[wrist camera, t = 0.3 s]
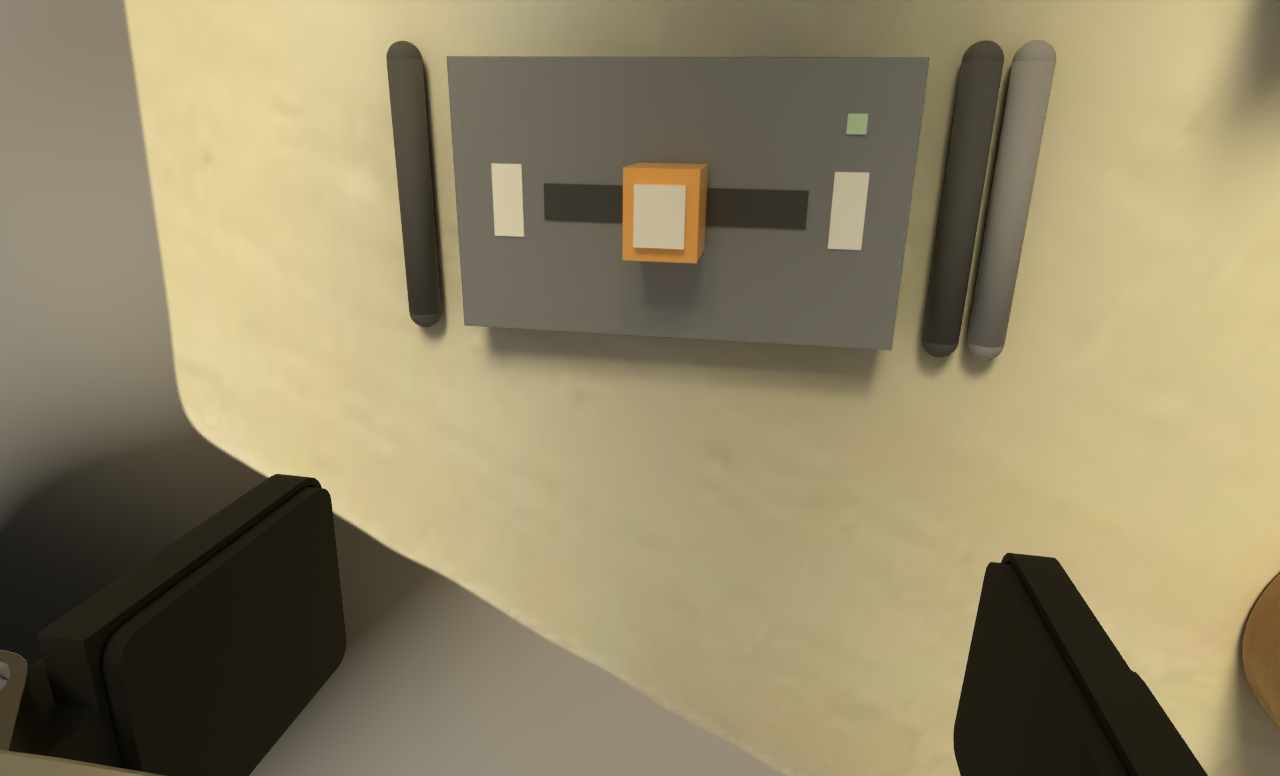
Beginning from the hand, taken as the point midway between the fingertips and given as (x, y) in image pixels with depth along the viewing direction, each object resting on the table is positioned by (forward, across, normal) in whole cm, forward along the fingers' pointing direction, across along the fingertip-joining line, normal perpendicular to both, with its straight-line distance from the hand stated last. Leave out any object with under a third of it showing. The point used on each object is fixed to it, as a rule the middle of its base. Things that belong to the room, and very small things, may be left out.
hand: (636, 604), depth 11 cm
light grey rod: (+28, -12, -4) cm, 31 cm away
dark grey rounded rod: (+28, +16, -3) cm, 32 cm away
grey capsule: (+28, -10, -4) cm, 30 cm away
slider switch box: (+28, +3, -3) cm, 28 cm away
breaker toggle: (+25, +3, -3) cm, 25 cm away
